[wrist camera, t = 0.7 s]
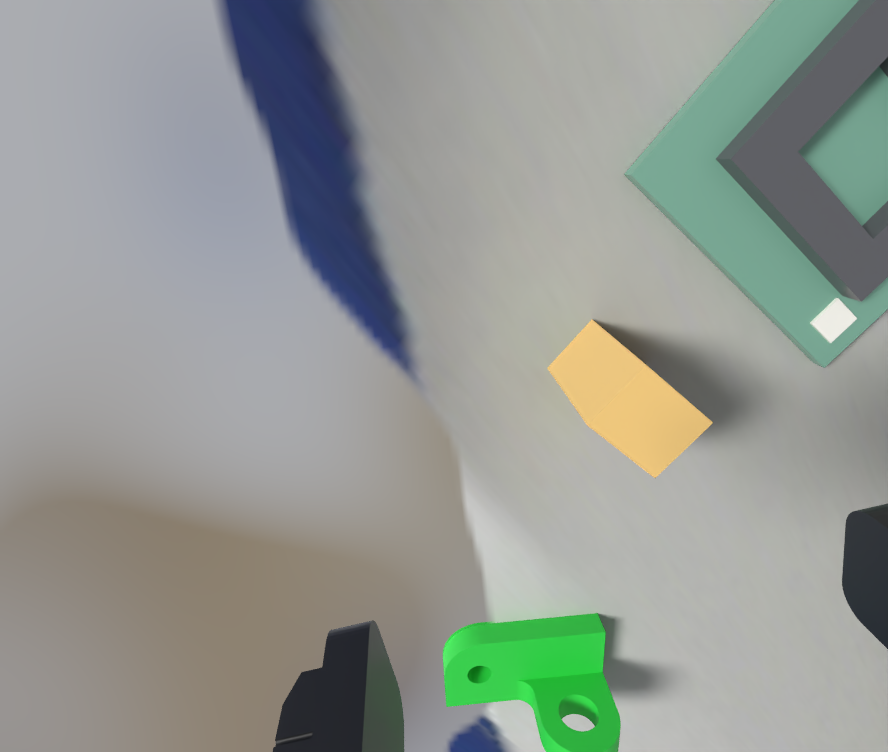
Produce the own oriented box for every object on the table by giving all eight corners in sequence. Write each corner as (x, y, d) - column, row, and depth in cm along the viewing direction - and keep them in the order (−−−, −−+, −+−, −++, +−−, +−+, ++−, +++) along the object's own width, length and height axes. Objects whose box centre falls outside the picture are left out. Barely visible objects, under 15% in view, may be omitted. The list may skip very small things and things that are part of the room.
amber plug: (591, 319, 34) (646, 365, 26) (647, 366, 35) (713, 422, 28) (547, 367, 35) (587, 425, 27) (602, 412, 36) (655, 478, 29)
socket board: (893, -138, 26) (941, -167, 24) (1064, 127, 31) (1117, 124, 29) (623, 174, 31) (642, 175, 28) (812, 362, 36) (841, 376, 33)
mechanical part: (596, 611, 42) (637, 707, 35) (592, 668, 45) (631, 770, 37) (440, 626, 42) (449, 727, 34) (444, 683, 44) (453, 790, 37)
